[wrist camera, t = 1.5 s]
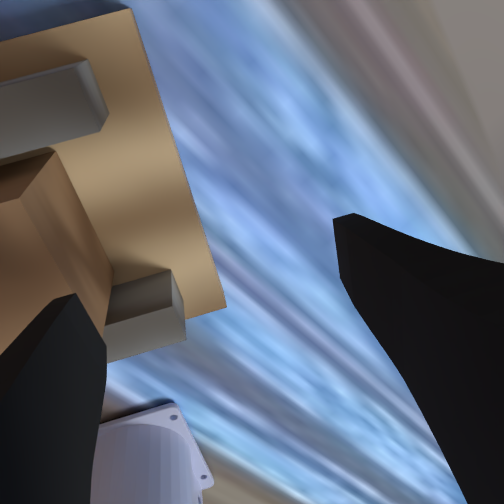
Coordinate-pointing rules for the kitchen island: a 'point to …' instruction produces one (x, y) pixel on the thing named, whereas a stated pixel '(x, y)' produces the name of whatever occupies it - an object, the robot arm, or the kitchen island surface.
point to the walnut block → (46, 246)
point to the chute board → (114, 170)
